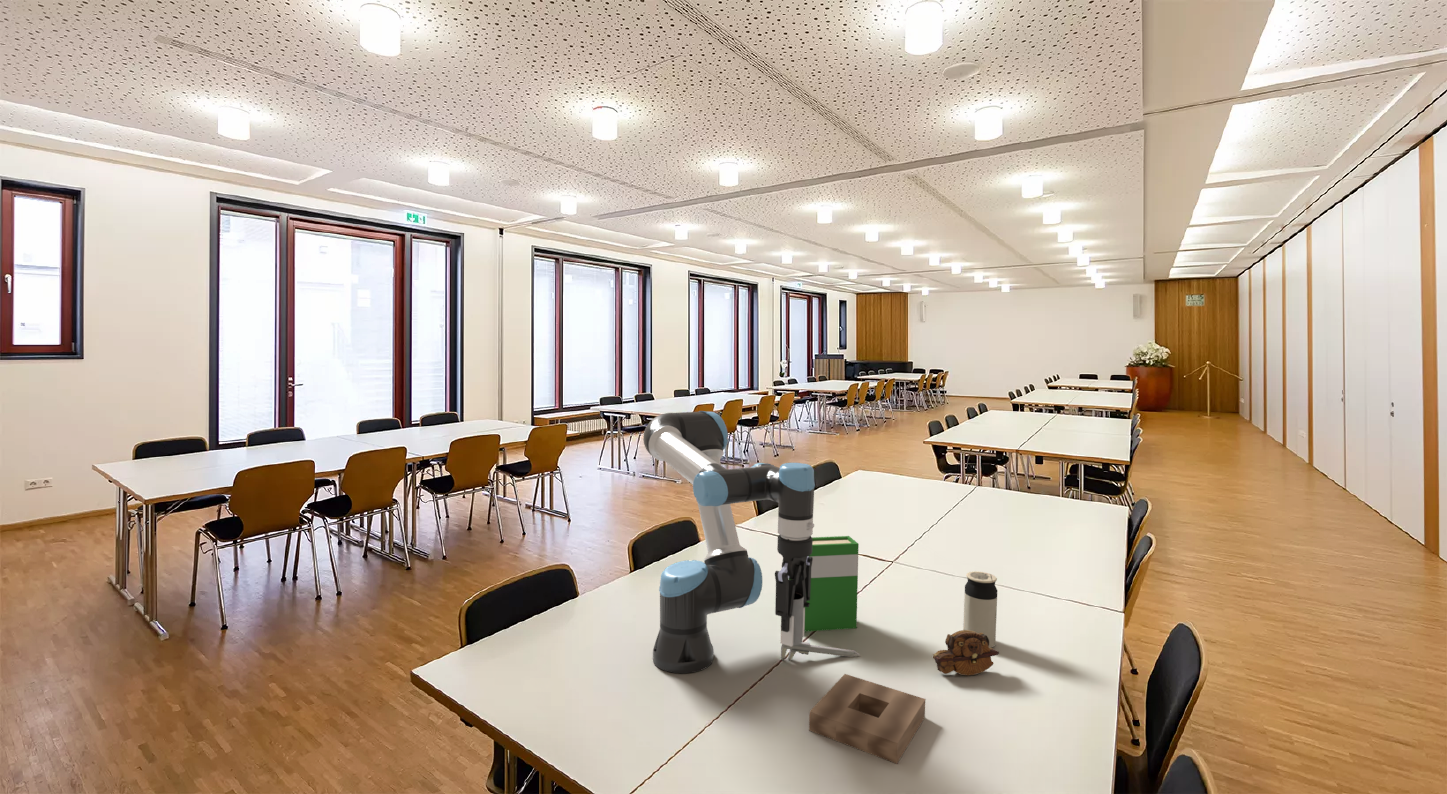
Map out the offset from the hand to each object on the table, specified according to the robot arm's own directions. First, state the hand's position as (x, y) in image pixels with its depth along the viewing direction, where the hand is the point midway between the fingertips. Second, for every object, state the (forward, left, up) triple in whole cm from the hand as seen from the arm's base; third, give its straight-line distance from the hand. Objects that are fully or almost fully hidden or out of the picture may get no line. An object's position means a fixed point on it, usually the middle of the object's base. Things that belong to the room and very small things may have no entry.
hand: (792, 639), depth 135 cm
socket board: (+17, +1, -13) cm, 22 cm away
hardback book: (-11, +39, -14) cm, 43 cm away
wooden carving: (+29, +34, -14) cm, 47 cm away
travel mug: (+28, +53, -14) cm, 62 cm away
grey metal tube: (0, 0, 0) cm, 1 cm away
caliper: (-3, +21, -14) cm, 25 cm away
